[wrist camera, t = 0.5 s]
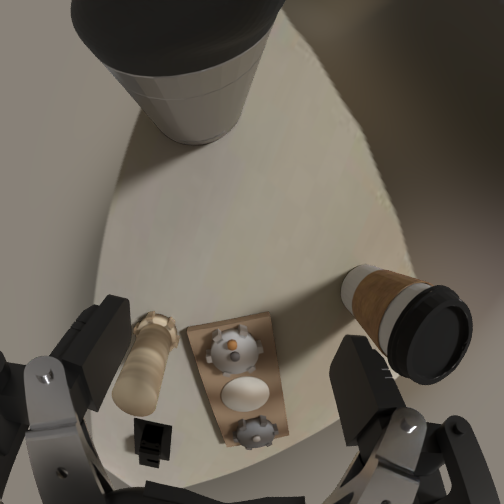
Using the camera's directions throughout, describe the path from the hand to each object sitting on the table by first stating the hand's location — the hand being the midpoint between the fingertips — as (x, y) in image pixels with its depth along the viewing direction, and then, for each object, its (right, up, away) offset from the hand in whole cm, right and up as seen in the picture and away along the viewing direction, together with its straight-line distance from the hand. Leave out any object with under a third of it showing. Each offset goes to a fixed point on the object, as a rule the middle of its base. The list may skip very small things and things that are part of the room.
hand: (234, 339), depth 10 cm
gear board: (0, -14, +23) cm, 27 cm away
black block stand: (-14, -25, +24) cm, 37 cm away
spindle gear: (-10, -6, +20) cm, 23 cm away
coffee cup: (+14, -1, +22) cm, 26 cm away
